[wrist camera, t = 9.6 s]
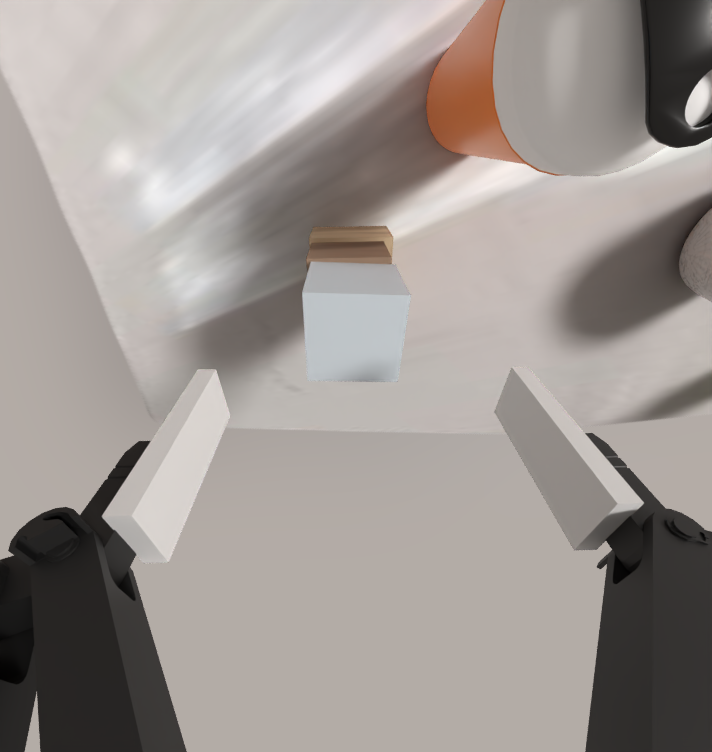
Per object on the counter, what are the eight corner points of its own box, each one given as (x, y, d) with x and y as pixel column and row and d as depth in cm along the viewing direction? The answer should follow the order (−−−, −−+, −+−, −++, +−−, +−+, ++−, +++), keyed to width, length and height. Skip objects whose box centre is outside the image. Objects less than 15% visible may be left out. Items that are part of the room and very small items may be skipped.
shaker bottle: (445, 190, 28) (590, 237, 12) (392, 82, 24) (505, -80, 7) (543, 113, 25) (916, 34, 9) (502, -25, 21) (1087, -681, 4)
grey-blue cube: (310, 261, 22) (302, 292, 17) (395, 264, 22) (410, 295, 17) (314, 337, 25) (307, 380, 20) (386, 338, 25) (397, 381, 21)
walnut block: (311, 242, 26) (306, 259, 21) (383, 241, 26) (391, 257, 22) (317, 310, 29) (313, 335, 25) (381, 308, 29) (387, 333, 25)
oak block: (313, 226, 29) (308, 238, 25) (386, 225, 30) (393, 237, 26) (318, 297, 33) (315, 316, 29) (382, 296, 34) (388, 315, 30)
